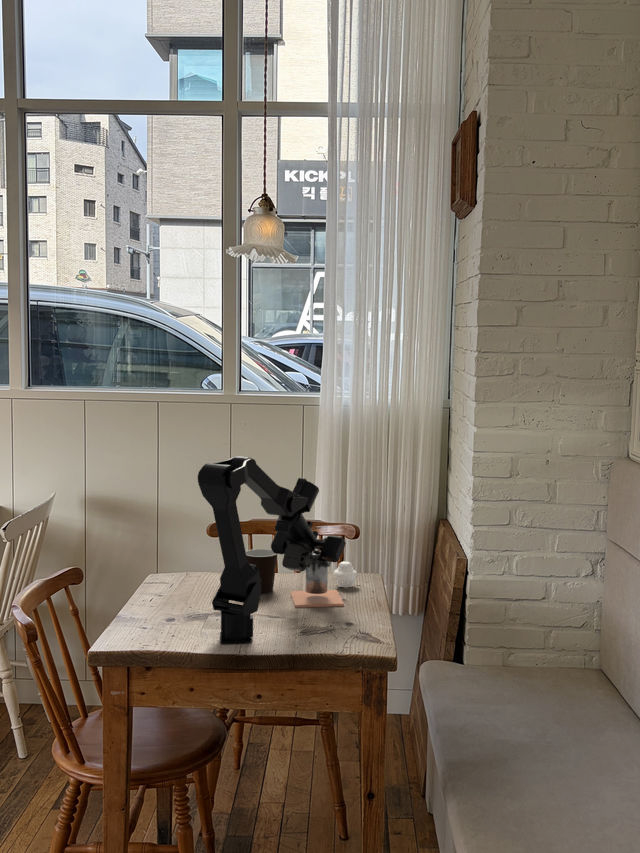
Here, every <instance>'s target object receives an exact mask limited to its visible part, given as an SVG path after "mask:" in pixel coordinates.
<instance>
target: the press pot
mask: <svg viewBox="0 0 640 853" xmlns="http://www.w3.org/2000/svg"><path fill="white" fill-rule="evenodd" d="M309 555H311V556H312V562H311V566H310V568H306V570H305V590H304V591H306V592H307V593H311V594H323V593H326V592H327V590H328V575H329V572H328V568H329V567H328V566H327V565H326V564H325V563H324V562H323V561H318V558H319V555H320V551H319V549H315V551H314V552H312V554H309Z"/></svg>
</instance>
